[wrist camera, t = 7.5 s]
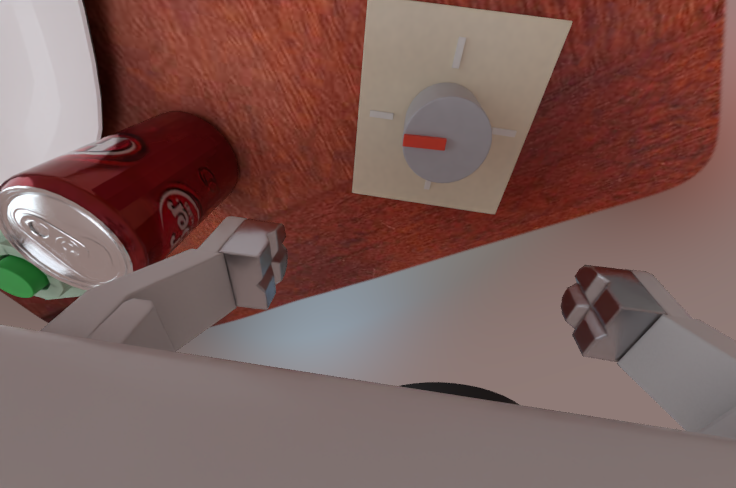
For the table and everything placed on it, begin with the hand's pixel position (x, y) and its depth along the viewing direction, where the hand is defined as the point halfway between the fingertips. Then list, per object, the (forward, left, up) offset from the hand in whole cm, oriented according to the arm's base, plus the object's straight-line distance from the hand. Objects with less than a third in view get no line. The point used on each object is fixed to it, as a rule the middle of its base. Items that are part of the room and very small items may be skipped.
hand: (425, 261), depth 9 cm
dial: (0, -1, -13) cm, 13 cm away
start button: (-19, +35, -12) cm, 41 cm away
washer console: (0, -1, -16) cm, 16 cm away
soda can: (-6, +17, -16) cm, 24 cm away
